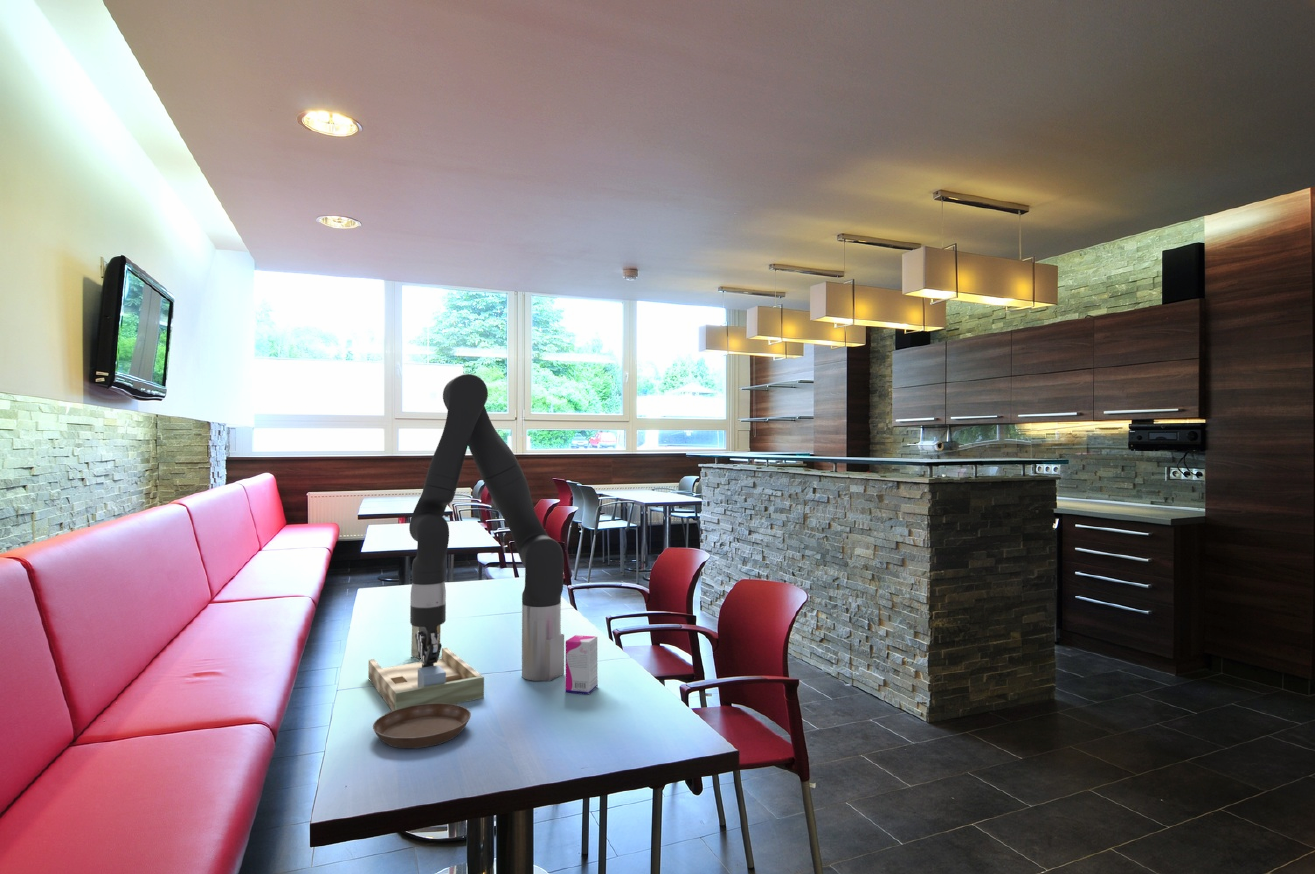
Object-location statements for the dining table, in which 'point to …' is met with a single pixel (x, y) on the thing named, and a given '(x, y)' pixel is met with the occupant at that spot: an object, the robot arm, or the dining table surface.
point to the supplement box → (581, 664)
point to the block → (431, 676)
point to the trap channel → (403, 685)
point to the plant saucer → (421, 725)
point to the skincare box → (414, 646)
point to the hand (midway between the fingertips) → (427, 680)
